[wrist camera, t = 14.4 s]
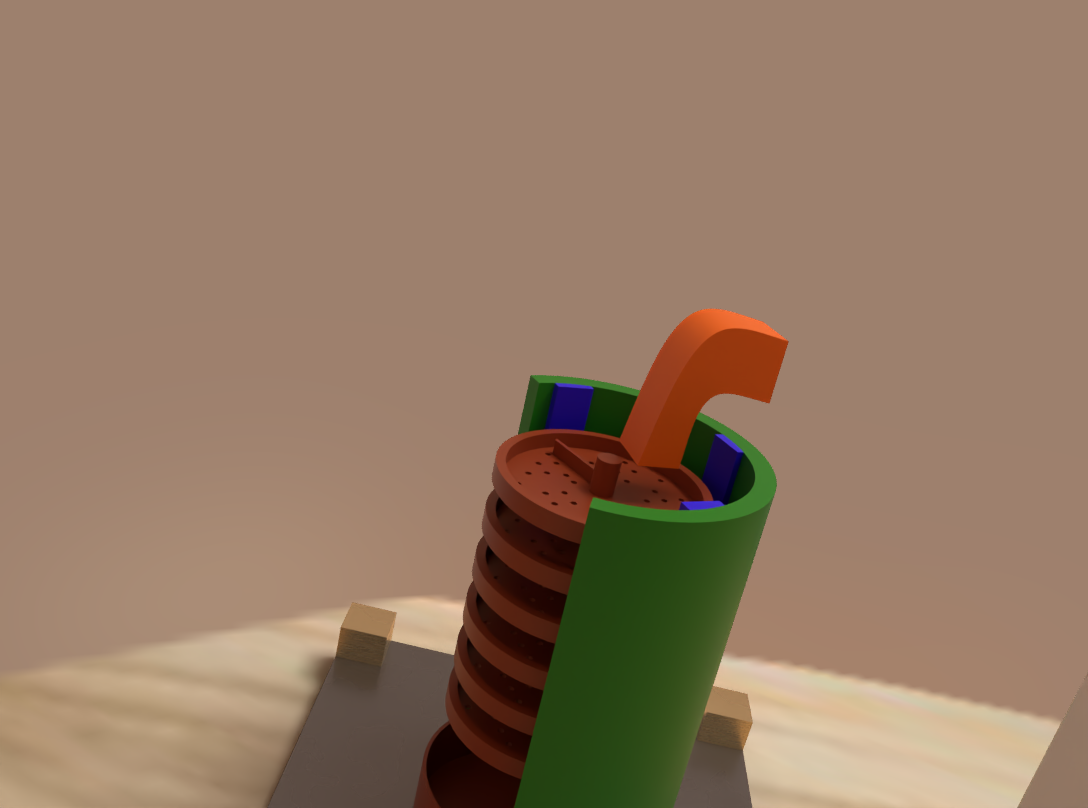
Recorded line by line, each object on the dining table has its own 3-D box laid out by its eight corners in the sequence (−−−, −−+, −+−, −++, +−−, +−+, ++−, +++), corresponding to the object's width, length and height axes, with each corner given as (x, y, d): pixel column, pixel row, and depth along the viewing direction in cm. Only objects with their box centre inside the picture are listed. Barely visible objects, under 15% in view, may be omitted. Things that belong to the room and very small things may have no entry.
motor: (375, 743, 40) (477, 244, 33) (577, 718, 44) (705, 270, 37) (467, 968, 32) (629, 366, 25) (704, 912, 36) (901, 382, 29)
